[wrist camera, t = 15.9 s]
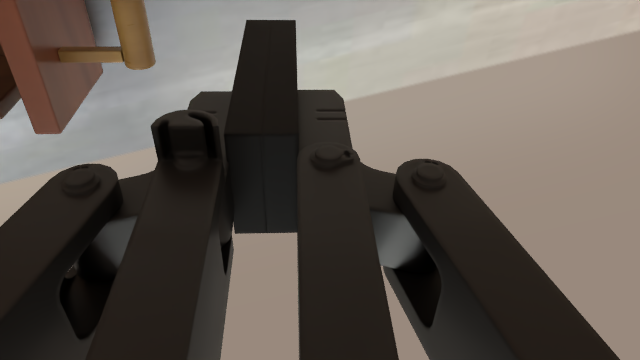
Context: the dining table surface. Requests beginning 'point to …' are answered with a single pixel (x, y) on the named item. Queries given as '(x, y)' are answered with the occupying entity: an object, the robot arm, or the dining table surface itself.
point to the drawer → (62, 55)
